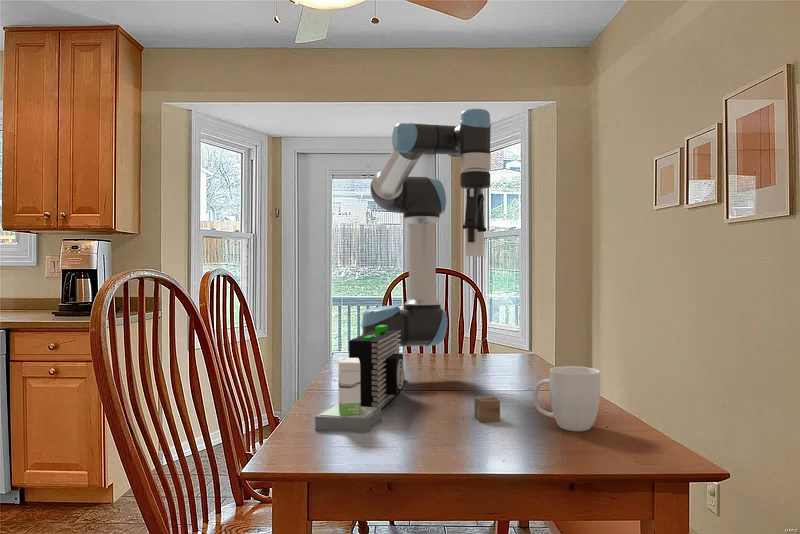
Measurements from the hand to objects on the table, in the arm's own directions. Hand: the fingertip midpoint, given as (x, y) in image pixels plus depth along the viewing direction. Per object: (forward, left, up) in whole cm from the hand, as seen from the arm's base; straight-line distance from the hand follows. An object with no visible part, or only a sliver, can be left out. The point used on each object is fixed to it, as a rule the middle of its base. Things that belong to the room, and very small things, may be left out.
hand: (475, 256), depth 164 cm
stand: (+22, -26, -39) cm, 52 cm away
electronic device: (-2, -25, -39) cm, 46 cm away
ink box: (+22, -26, -36) cm, 49 cm away
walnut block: (+9, +4, -39) cm, 40 cm away
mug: (+12, +23, -39) cm, 47 cm away
